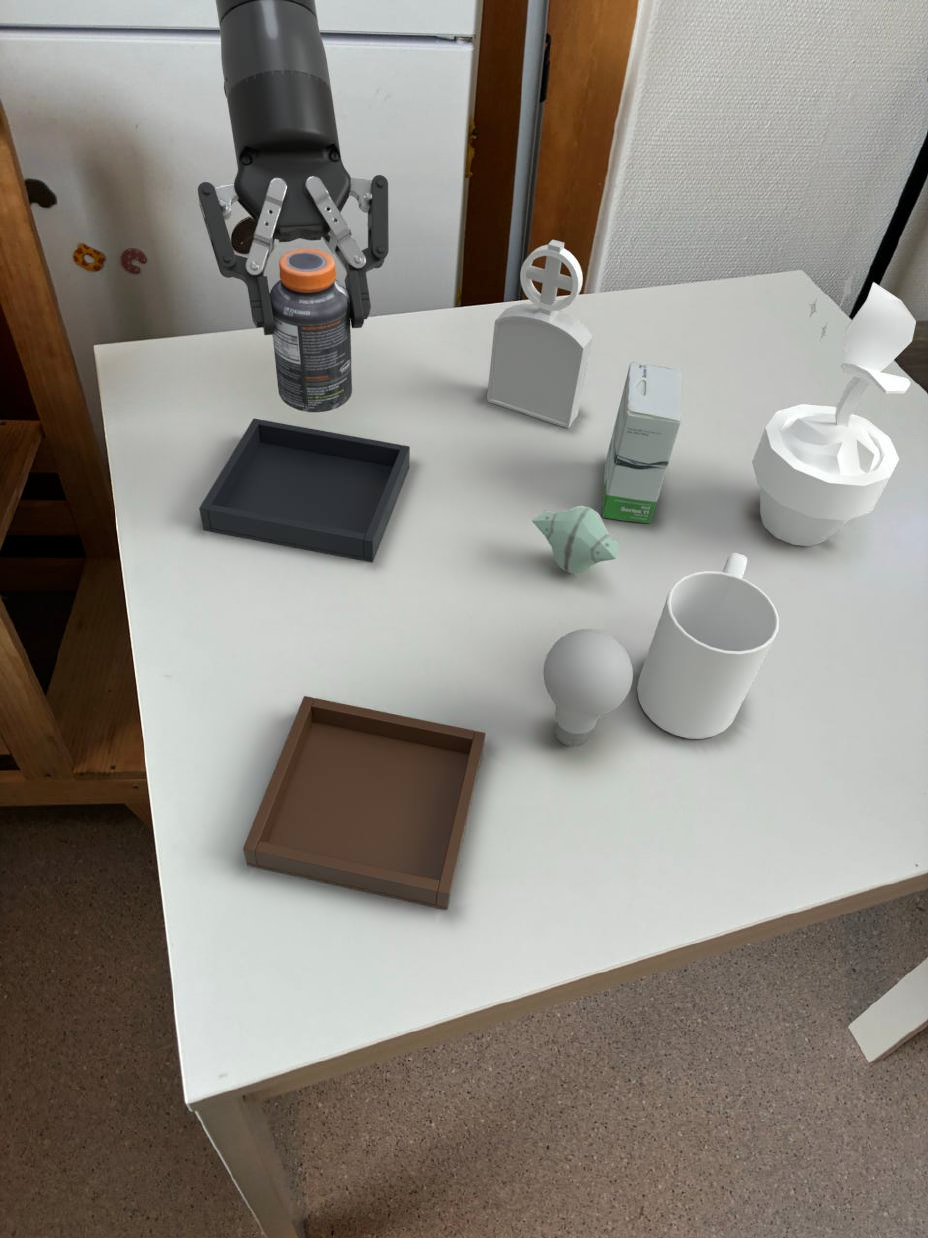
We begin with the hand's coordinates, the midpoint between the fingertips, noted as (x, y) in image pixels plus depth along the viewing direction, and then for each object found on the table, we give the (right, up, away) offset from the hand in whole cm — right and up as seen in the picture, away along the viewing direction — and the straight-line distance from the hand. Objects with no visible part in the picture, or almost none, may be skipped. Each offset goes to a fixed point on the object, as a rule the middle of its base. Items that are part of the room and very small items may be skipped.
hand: (314, 328), depth 67 cm
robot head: (+21, -17, +14) cm, 30 cm away
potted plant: (+42, -13, +19) cm, 48 cm away
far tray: (-3, -10, +17) cm, 20 cm away
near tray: (+5, -35, -4) cm, 35 cm away
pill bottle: (-1, -3, +6) cm, 7 cm away
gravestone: (+18, +1, +29) cm, 35 cm away
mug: (+29, -27, +6) cm, 40 cm away
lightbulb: (+19, -31, +1) cm, 36 cm away
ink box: (+27, -9, +21) cm, 35 cm away
